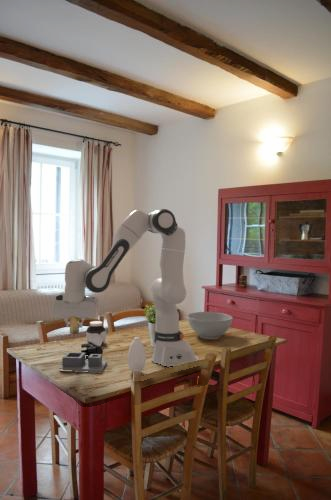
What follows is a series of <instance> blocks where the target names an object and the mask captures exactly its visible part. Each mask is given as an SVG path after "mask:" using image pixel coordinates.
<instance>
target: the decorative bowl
mask: <svg viewBox="0 0 331 500" xmlns="http://www.w3.org/2000/svg"><path fill="white" fill-rule="evenodd" d="M186 318H187V321H188V324H189V327H191V329H192V331H193V332H194V333H196V335H198V337H199V338H201V339H205V340H217V339H219V338H221V336H223V334H225V333H226V332H227V331H228V330H229V329H230V327H231V325H232V323H233V320H234V317H233V316H232V315H230V314H228V313H227V314H226V313H223V312H215V311H214V312H213V311H198V312H192V313H188V314H187V317H186Z"/></svg>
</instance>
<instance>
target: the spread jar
mask: <svg viewBox="0 0 331 500" xmlns="http://www.w3.org/2000/svg"><path fill="white" fill-rule="evenodd" d="M85 332H86V334H85V336H86V337H85V339H86V343H89V342H93V343H95V344H96V345H98V346H100V347H101V346H102V345H103V344H102V343H105V342H106V338H107V337H106V335H107V332H106V328H105V327H104V326H103V321H101V320H94V321H90V322H89V326H88V327H87V329H86V331H85Z"/></svg>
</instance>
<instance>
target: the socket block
mask: <svg viewBox="0 0 331 500" xmlns="http://www.w3.org/2000/svg"><path fill="white" fill-rule="evenodd" d="M61 362H62V365H61V366H60V367H59V370H60V369H63V370H72V371H88V372H101V373H103V371H104V369H105V368H106V366H107V365H108V360H103V354H91V355H90V356H89V357H88V360H86V359H85V353H83V352H81V351H80V352H78V351H68V352H66V353H65V354H64V355H63V357H62V361H61ZM105 365H106V366H105ZM104 367H105V368H104ZM102 370H103V371H102Z"/></svg>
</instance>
